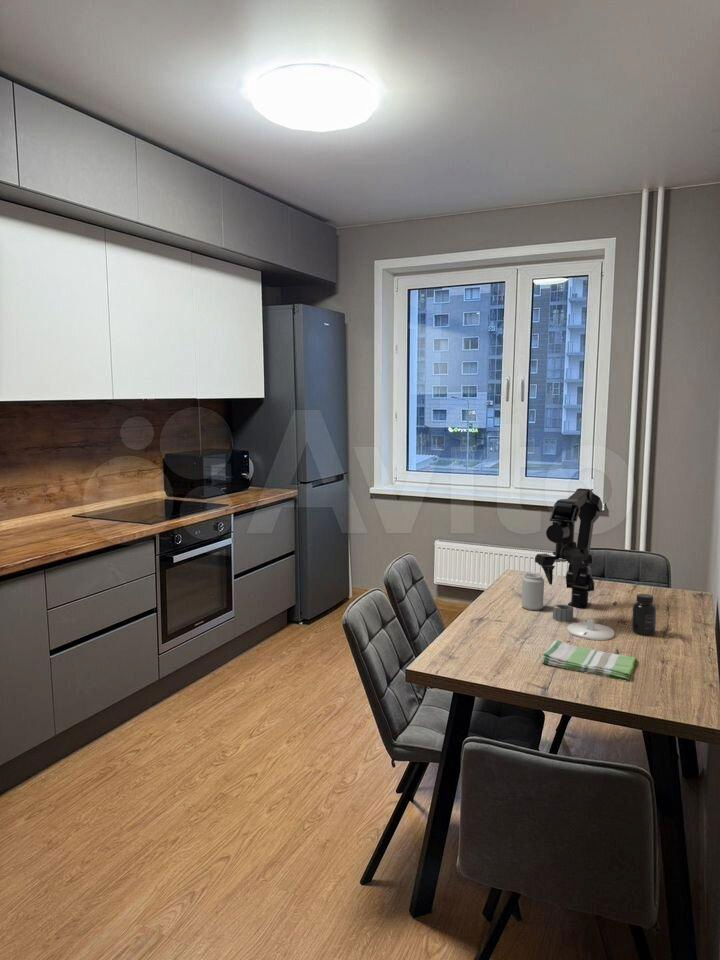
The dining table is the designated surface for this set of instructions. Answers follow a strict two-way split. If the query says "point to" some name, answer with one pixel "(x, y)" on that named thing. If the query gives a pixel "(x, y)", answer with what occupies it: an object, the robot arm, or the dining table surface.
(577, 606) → the robot arm
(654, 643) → the dining table surface
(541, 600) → the can
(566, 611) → the grey segmented ring
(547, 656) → the dish towel
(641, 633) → the supplement bottle
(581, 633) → the shaft hub
